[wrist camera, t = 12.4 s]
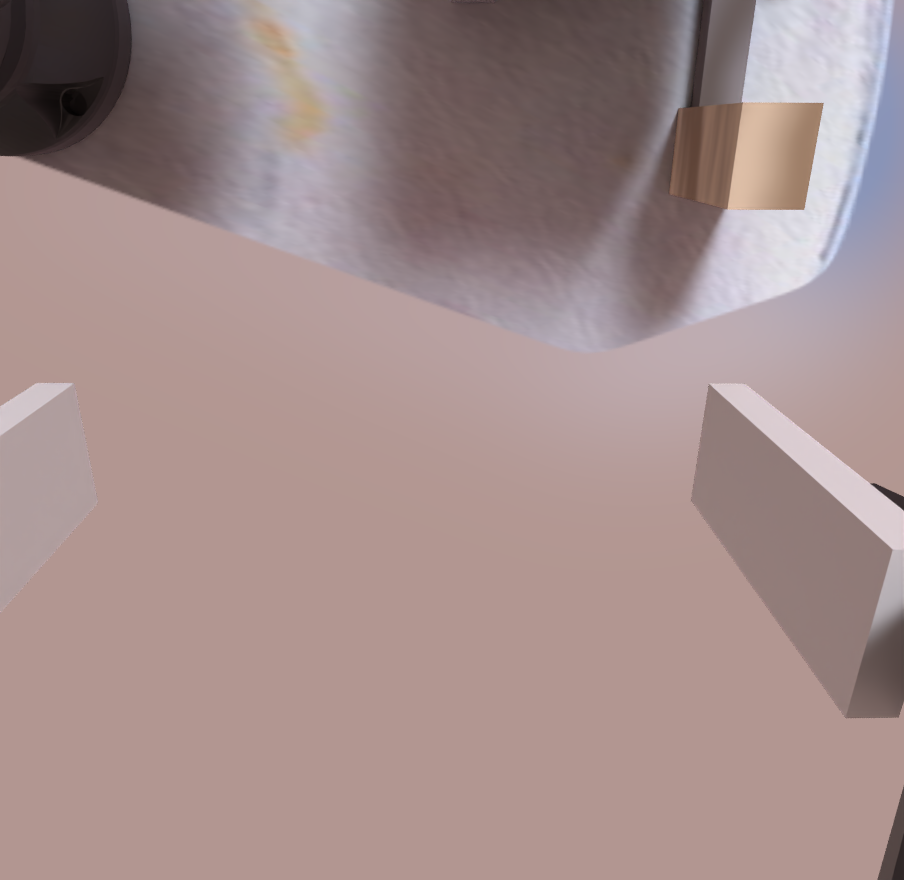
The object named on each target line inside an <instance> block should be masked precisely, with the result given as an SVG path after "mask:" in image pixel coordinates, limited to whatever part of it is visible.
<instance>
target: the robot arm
mask: <svg viewBox="0 0 904 880" xmlns="http://www.w3.org/2000/svg"><path fill="white" fill-rule="evenodd" d="M130 54H131V23H130V14H129V9H128V3H127V0H0V156H26V155H39V154H46V153H51V152H54V151H58V150H61V149H64V148H66V147H69V146H71V145H73V144H75V143H77V142H78V141H80V140H82V139H83V138H85V137H86V136H87V135H89V134H90V133H91V132H92V131H94V130H95V129H96V128H97V127H98V126H99V125H100V124H101V123H102V122H103V121H104V119H105V118H106V117H107V115H108V114H109V113H110V111H111V110H112V108H113V107H114V105H115V103H116V101H117V99H118V98H119V95H120V93H121V91H122V88H123V86H124V83H125V80H126V76H127V72H128V67H129V62H130ZM691 501H692V502H693V504H694V506H695V507H696V508H697V510H698V511H699V513H700V514H701V515H702V517H703V518H704V520H705V521H706V522H707V524H708V525H709V526H710V528H711V529H712V531H713V532H714V533H715V535H716V536H717V538H718V539H719V541H720V542H721V544H722V545H723V546H724V548H725V549H726V551H727V552H728V553H729V555H730V556H731V558H732V559H733V560H734V562H735V563H736V564H737V566H738V567H739V569H740V570H741V572H742V573H743V575H744V576H745V577H746V579H747V580H748V581H749V583H750V584H751V586H752V587H753V589H754V590H755V591H756V593H757V594H758V596H759V597H760V598H761V600H762V601H763V603H764V604H765V605H766V607H767V608H768V610H769V611H770V613H771V614H772V615H773V617H774V618H775V619H776V621H777V622H778V624H779V625H780V627H781V628H782V629H783V631H784V632H785V634H786V635H787V636H788V638H789V639H790V641H791V642H792V644H793V645H794V646H795V648H796V649H797V650H798V652H799V653H800V655H801V656H802V658H803V659H804V660H805V661H806V663H807V664H808V666H809V667H810V669H811V670H812V672H813V673H814V675H815V676H816V677H817V678H818V680H819V681H820V683H821V684H822V686H823V687H824V689H825V690H826V691H827V693H828V694H829V696H830V697H831V698H832V700H833V701H834V703H835V704H836V705H837V707H838V708H839V710H840V711H841V712H842V714H843V715H844V717H845V718H888V717H889V718H892V717H899V715H900V711H901V708H902V705H903V702H904V497H903V496H901V495H899V494H897V493H894V492H892V491H890V490H888V489H886V488H883V487H881V486H879V485H877V484H874V483H873V484H870V483H868V482H867V481H866V480H865V479H863V478H862V477H861V476H860V475H858V474H857V473H856V472H854V471H853V470H852V469H851V468H850V467H848V466H847V465H846V464H845V463H843V462H842V461H841V460H840V459H838V458H837V457H836V456H835V455H833V454H832V453H831V452H830V451H828V450H827V449H826V448H825V447H823V446H822V445H821V444H820V443H818V442H817V441H816V440H815V439H813V438H812V437H811V436H810V435H808V434H807V433H806V432H805V431H803V430H802V429H801V428H800V427H798V426H797V425H796V424H795V423H793V422H792V421H791V420H790V419H788V418H787V417H786V416H785V415H783V414H782V413H781V412H779V411H778V410H777V409H776V408H774V407H773V406H772V405H771V404H770V403H768V402H767V401H766V400H765V399H763V398H762V397H761V396H760V395H758V394H757V393H756V392H754V391H753V390H752V389H751V388H750V387H748V386H747V385H746V384H709V386H708V393H707V400H706V407H705V413H704V420H703V425H702V432H701V438H700V445H699V451H698V458H697V464H696V471H695V478H694V484H693V491H692V497H691ZM97 503H98V499H97V495H96V489H95V484H94V480H93V474H92V469H91V464H90V459H89V454H88V450H87V444H86V439H85V434H84V429H83V424H82V419H81V414H80V409H79V404H78V399H77V394H76V388H75V384H74V383H36V384H34V385H33V386H31V387H30V388H28V389H26V390H25V391H24V392H22V393H20V394H19V395H17V396H16V397H14V398H12V399H11V400H9V401H8V402H6V403H5V404H3V405H2V406H0V613H1V612H2V611H3V609H4V608H5V607H6V606H7V605H8V604H9V603H10V601H11V600H12V599H13V598H14V597H15V596H16V595H17V594H18V593H19V591H20V590H21V589H22V588H23V587H24V586H25V585H26V583H27V582H28V581H29V580H30V579H31V578H32V577H33V576H34V575H35V573H36V572H37V571H38V570H39V569H40V568H41V566H43V564H44V563H45V562H46V561H47V560H48V559H49V558H50V557H51V555H52V554H53V553H54V552H55V551H56V550H57V548H58V547H59V546H60V545H61V544H62V543H63V542H64V541H65V540H66V539H67V537H68V536H69V535H70V534H71V533H72V532H73V531H74V530H75V528H76V527H77V526H78V525H79V524H80V523H81V522H82V521H83V519H84V518H85V517H86V516H87V515H88V514H89V513H90V512H91V510H92V509H93V508H94V507H95V506H96V505H97ZM878 880H904V787H903V791H902V794H901V798H900V802H899V805H898V809H897V812H896V816H895V820H894V823H893V827H892V830H891V834H890V837H889V841H888V844H887V848H886V851H885V855H884V859H883V862H882V866H881V870H880V873H879V877H878Z"/></svg>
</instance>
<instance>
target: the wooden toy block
mask: <svg viewBox="0 0 904 880" xmlns="http://www.w3.org/2000/svg"><path fill="white" fill-rule="evenodd" d="M755 4H756V0H704V1H703V10H702V18H701V27H700V35H699V43H698V52H697V60H696V69H695V77H694V85H693V94H692V102H691V107H689V108H679V110H678V118H677V127H676V136H675V145H674V154H673V162H672V171H671V180H670V189H669V194H670V195H674V196H678V197H682V198H686V199H689V200H693V201H697V202H701V203H705V204H708V205H712V206H716V207H720V208H724V209H737V210H804V208H805V202H806V197H807V191H808V186H809V180H810V175H811V169H812V164H813V158H814V153H815V147H816V142H817V136H818V131H819V126H820V120H821V115H822V109H823V104H824V103H741V101H742V94H743V87H744V80H745V73H746V66H747V59H748V53H749V46H750V39H751V32H752V25H753V18H754V11H755Z"/></svg>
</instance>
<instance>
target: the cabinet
mask: <svg viewBox="0 0 904 880" xmlns="http://www.w3.org/2000/svg"><path fill="white" fill-rule="evenodd" d="M495 1H496V0H451V2H476V3H495Z"/></svg>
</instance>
